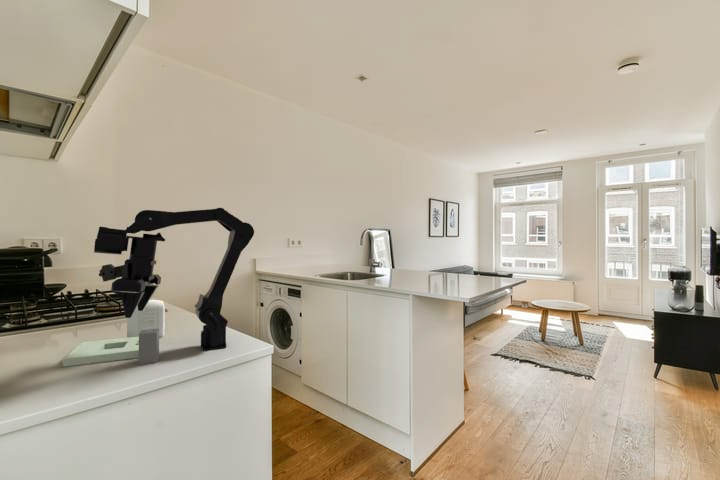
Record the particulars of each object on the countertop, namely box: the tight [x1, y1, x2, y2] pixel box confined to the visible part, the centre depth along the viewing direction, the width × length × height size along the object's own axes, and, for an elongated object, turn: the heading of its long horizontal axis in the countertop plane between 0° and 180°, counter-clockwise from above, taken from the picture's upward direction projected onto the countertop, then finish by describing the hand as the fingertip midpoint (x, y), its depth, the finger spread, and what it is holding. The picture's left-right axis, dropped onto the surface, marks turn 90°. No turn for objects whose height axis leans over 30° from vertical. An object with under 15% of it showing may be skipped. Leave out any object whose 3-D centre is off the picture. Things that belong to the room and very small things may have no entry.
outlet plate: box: [62, 337, 139, 368], centre depth 93 cm, size 18×16×2 cm
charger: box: [138, 329, 160, 366], centre depth 86 cm, size 4×4×8 cm
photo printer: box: [126, 299, 166, 338], centre depth 105 cm, size 10×4×12 cm, turn 123°
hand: (134, 314), depth 87 cm, fingers open, 9 cm apart
